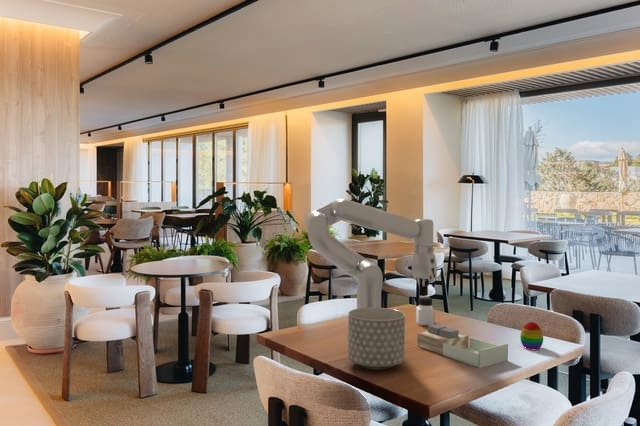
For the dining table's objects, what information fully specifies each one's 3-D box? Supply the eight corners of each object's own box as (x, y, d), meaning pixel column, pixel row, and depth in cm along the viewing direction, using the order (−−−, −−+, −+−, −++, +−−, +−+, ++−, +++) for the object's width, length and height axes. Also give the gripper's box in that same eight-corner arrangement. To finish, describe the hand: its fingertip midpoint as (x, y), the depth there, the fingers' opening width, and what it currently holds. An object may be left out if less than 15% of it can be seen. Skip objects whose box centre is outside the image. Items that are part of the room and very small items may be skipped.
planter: (414, 373, 169) (414, 318, 168) (359, 378, 164) (360, 321, 163) (390, 355, 187) (390, 306, 187) (340, 360, 182) (340, 309, 181)
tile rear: (437, 335, 197) (437, 328, 197) (427, 332, 201) (427, 325, 201) (446, 333, 200) (446, 326, 200) (436, 330, 204) (437, 324, 204)
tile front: (449, 338, 192) (449, 332, 192) (439, 335, 196) (439, 329, 196) (458, 336, 195) (458, 330, 195) (448, 333, 199) (448, 327, 199)
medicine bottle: (434, 325, 232) (434, 299, 231) (418, 325, 232) (419, 298, 231) (431, 321, 239) (431, 296, 238) (415, 321, 239) (416, 295, 238)
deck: (442, 354, 189) (442, 341, 189) (417, 345, 200) (417, 333, 200) (468, 348, 197) (468, 335, 196) (442, 340, 207) (443, 328, 207)
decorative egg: (521, 343, 204) (521, 318, 204) (543, 346, 201) (544, 320, 200) (519, 349, 197) (519, 323, 196) (542, 352, 193) (543, 325, 193)
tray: (479, 368, 174) (479, 350, 174) (442, 355, 188) (443, 339, 188) (507, 360, 182) (508, 343, 182) (470, 348, 196) (470, 333, 196)
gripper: (444, 251, 202) (444, 297, 203) (417, 247, 214) (417, 291, 215) (430, 252, 198) (430, 299, 198) (403, 248, 210) (403, 293, 211)
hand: (423, 295), depth 207 cm, fingers closed
